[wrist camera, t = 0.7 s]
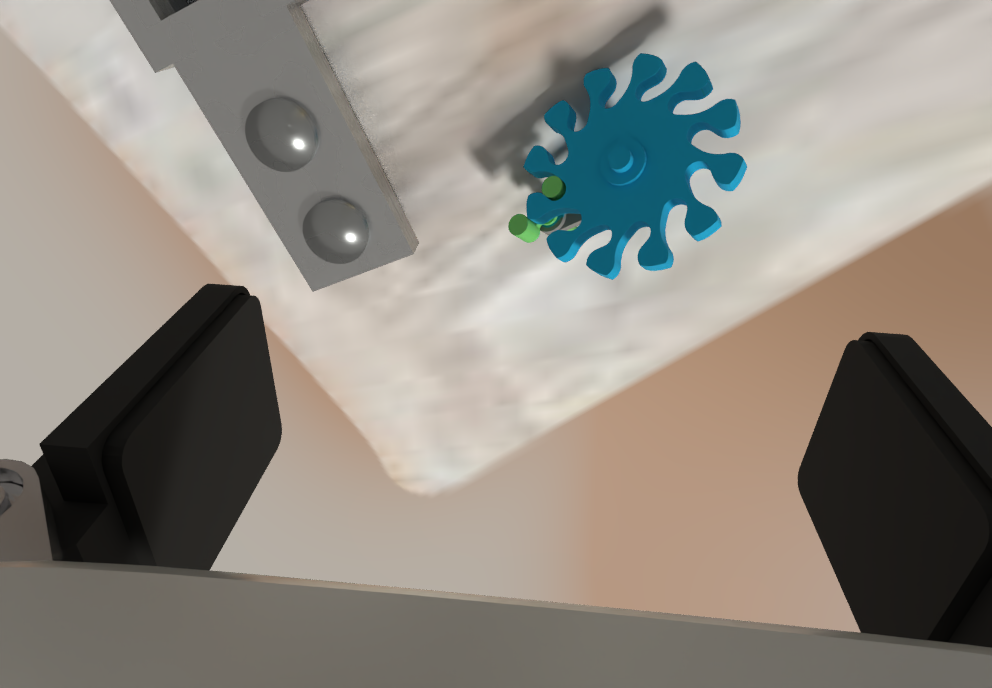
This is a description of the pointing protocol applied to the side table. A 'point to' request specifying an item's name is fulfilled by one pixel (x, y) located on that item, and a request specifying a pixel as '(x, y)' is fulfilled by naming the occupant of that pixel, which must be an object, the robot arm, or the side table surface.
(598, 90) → the gear
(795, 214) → the side table surface
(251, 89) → the gray studded rail
